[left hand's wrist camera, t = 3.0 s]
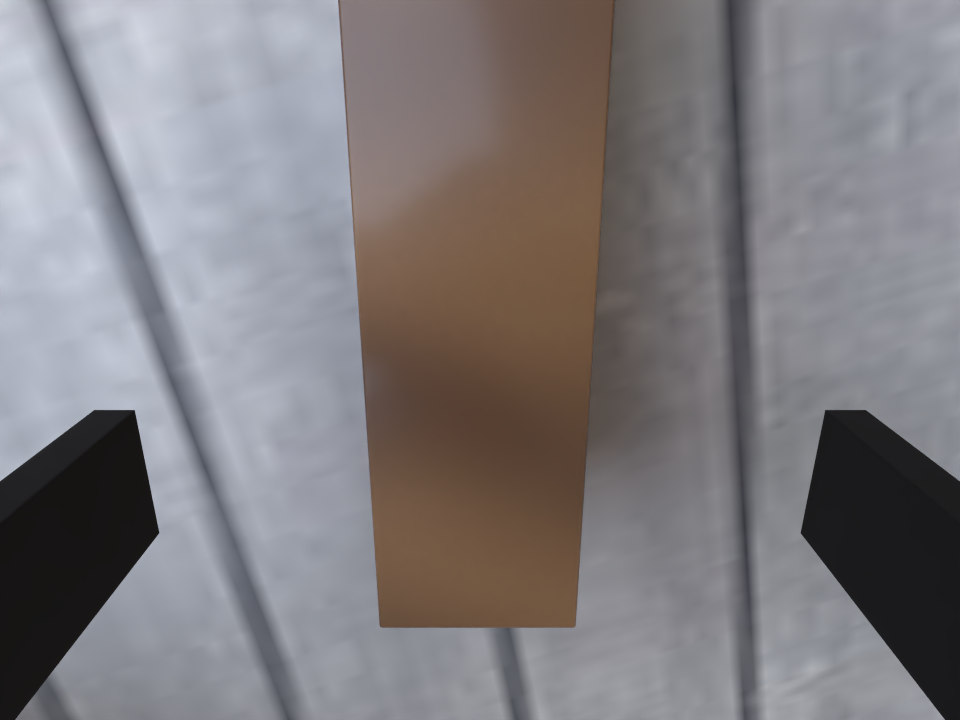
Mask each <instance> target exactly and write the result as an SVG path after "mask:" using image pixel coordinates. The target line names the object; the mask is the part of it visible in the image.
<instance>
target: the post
mask: <svg viewBox="0 0 960 720" xmlns="http://www.w3.org/2000/svg"><path fill="white" fill-rule="evenodd" d="M338 4H339V19H340V34H341V49H342V64H343V79H344V94H345V109H346V124H347V139H348V154H349V170H350V185H351V200H352V215H353V230H354V245H355V260H356V275H357V290H358V305H359V320H360V335H361V350H362V365H363V380H364V395H365V411H366V426H367V441H368V456H369V471H370V486H371V501H372V516H373V531H374V546H375V561H376V576H377V591H378V606H379V621H380V627H382V628H573V627H575V625H576V611H577V595H578V579H579V563H580V548H581V532H582V516H583V500H584V484H585V469H586V453H587V437H588V421H589V405H590V390H591V374H592V358H593V342H594V326H595V311H596V295H597V279H598V263H599V247H600V232H601V216H602V200H603V184H604V169H605V153H606V137H607V121H608V105H609V90H610V74H611V58H612V42H613V26H614V11H615V0H338Z"/></svg>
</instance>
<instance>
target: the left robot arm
mask: <svg viewBox="0 0 960 720" xmlns="http://www.w3.org/2000/svg"><path fill="white" fill-rule="evenodd" d="M158 534H159V529H158V524H157V519H156V514H155V509H154V504H153V500H152V495H151V490H150V485H149V480H148V475H147V470H146V465H145V460H144V455H143V450H142V445H141V440H140V435H139V430H138V425H137V420H136V415H135V410H94V411H93V412H91V413H90V414H89V415H87V416H86V417H85V418H83V419H82V420H81V421H79V422H78V423H77V424H75V425H74V426H73V427H71V428H70V429H69V430H68V431H66V432H65V433H64V434H62V435H61V436H60V437H58V438H57V439H56V440H54V441H53V442H52V443H50V444H49V445H48V446H46V447H45V448H44V449H42V450H41V451H40V452H38V453H37V454H36V455H35V456H33V457H32V458H31V459H29V460H28V461H27V462H25V463H24V464H23V465H21V466H20V467H19V468H17V469H16V470H15V471H13V472H12V473H11V474H9V475H8V476H7V477H5V478H4V479H3V480H2V481H0V720H15V719H16V718H17V716H18V715H19V714H20V713H21V711H22V710H23V709H24V707H25V706H26V705H27V703H28V702H29V701H30V700H31V698H32V697H33V696H34V694H35V693H36V692H37V691H38V689H39V688H40V687H41V685H42V684H43V683H44V681H45V680H46V679H47V678H48V676H49V675H50V674H51V672H52V671H53V670H54V669H55V667H56V666H57V665H58V663H59V662H60V661H61V659H62V658H63V657H64V656H65V654H66V653H67V652H68V650H69V649H70V648H71V647H72V645H73V644H74V643H75V641H76V640H77V639H78V637H79V636H80V635H81V634H82V632H83V631H84V630H85V628H86V627H87V626H88V625H89V623H90V622H91V621H92V619H93V618H94V617H95V615H96V614H97V613H98V612H99V610H100V609H101V608H102V606H103V605H104V604H105V603H106V601H107V600H108V599H109V597H110V596H111V595H112V593H113V592H114V591H115V590H116V588H117V587H118V586H119V584H120V583H121V582H122V581H123V579H124V578H125V577H126V575H127V574H128V573H129V572H130V570H131V569H132V568H133V566H134V565H135V564H136V562H137V561H138V560H139V559H140V557H141V556H142V555H143V553H144V552H145V551H146V550H147V548H148V547H149V546H150V544H151V543H152V542H153V540H154V539H155V538H156V537H157V535H158ZM801 534H802V535H803V537H804V538H805V539H806V540H807V542H808V543H809V544H810V546H811V547H812V548H813V550H814V551H815V552H816V553H817V555H818V556H819V557H820V559H821V560H822V561H823V562H824V564H825V565H826V566H827V568H828V569H829V570H830V572H831V573H832V574H833V575H834V577H835V578H836V579H837V581H838V582H839V583H840V584H841V586H842V587H843V588H844V590H845V591H846V592H847V593H848V595H849V596H850V597H851V599H852V600H853V601H854V603H855V604H856V605H857V606H858V608H859V609H860V610H861V612H862V613H863V614H864V615H865V617H866V618H867V619H868V621H869V622H870V623H871V625H872V626H873V627H874V628H875V630H876V631H877V632H878V634H879V635H880V636H881V637H882V639H883V640H884V641H885V643H886V644H887V645H888V647H889V648H890V649H891V650H892V652H893V653H894V654H895V656H896V657H897V658H898V659H899V661H900V662H901V663H902V665H903V666H904V667H905V669H906V670H907V671H908V672H909V674H910V675H911V676H912V678H913V679H914V680H915V681H916V683H917V684H918V685H919V687H920V688H921V689H922V691H923V692H924V693H925V694H926V696H927V697H928V698H929V700H930V701H931V702H932V703H933V705H934V706H935V707H936V709H937V710H938V711H939V713H940V714H941V715H942V716H943V718H944V719H945V720H960V481H958V480H957V479H956V478H955V477H953V476H952V475H951V474H949V473H948V472H947V471H945V470H944V469H943V468H941V467H940V466H939V465H937V464H936V463H935V462H933V461H932V460H931V459H929V458H928V457H927V456H925V455H924V454H923V453H922V452H920V451H919V450H918V449H916V448H915V447H914V446H912V445H911V444H910V443H908V442H907V441H906V440H904V439H903V438H902V437H900V436H899V435H898V434H896V433H895V432H894V431H892V430H891V429H890V428H889V427H887V426H886V425H885V424H883V423H882V422H881V421H879V420H878V419H877V418H875V417H874V416H873V415H871V414H870V413H869V412H867V411H866V410H825V415H824V420H823V425H822V430H821V435H820V440H819V445H818V450H817V455H816V460H815V465H814V470H813V475H812V480H811V485H810V490H809V495H808V500H807V504H806V509H805V514H804V519H803V524H802V529H801Z"/></svg>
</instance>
